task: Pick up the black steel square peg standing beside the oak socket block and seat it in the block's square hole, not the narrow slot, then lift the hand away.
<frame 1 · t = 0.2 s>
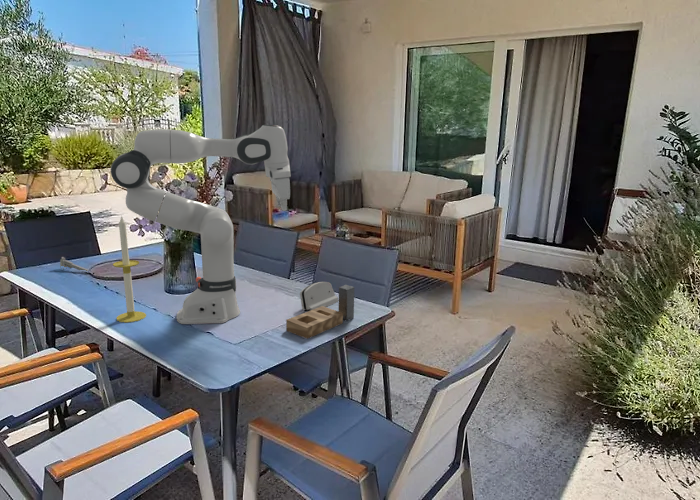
hand: (282, 208, 178), 39 cm above the table, tool pointing down, fingers open, 8 cm apart
candle: (131, 317, 176), on the table
caliper: (77, 272, 228), on the table
socket block: (315, 326, 170), on the table
hinge: (318, 305, 192), on the table
steel peg: (346, 318, 179), on the table
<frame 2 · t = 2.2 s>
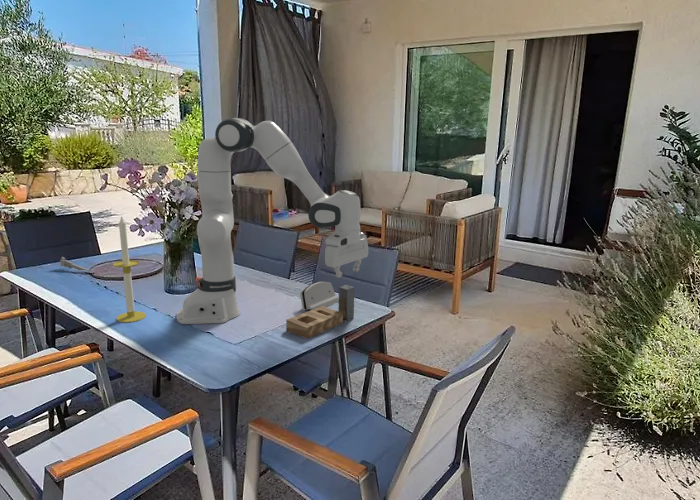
hand: (347, 274, 175), 17 cm above the table, tool pointing down, fingers open, 8 cm apart
nothing on the table moved.
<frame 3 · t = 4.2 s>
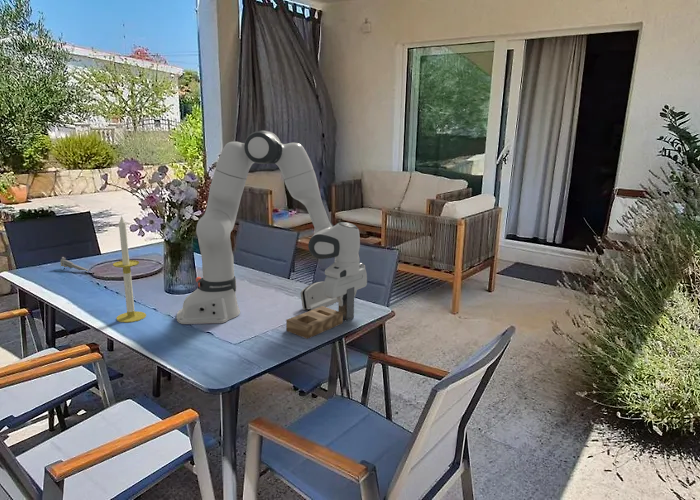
hand: (346, 303, 178), 6 cm above the table, tool pointing down, fingers closed on steel peg, 4 cm apart
steel peg: (346, 318, 179), on the table, touching gripper
everything else where it was.
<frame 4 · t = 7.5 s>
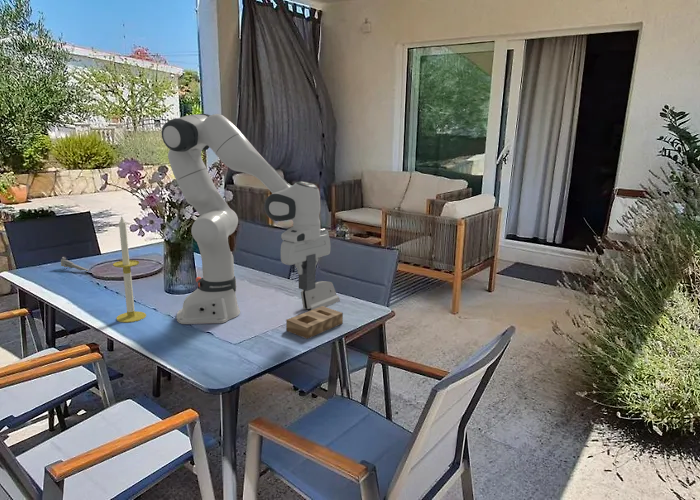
hand: (306, 272, 162), 21 cm above the table, tool pointing down, fingers closed on steel peg, 4 cm apart
steel peg: (307, 288, 164), point 15 cm above the table, touching gripper
everything else where it was.
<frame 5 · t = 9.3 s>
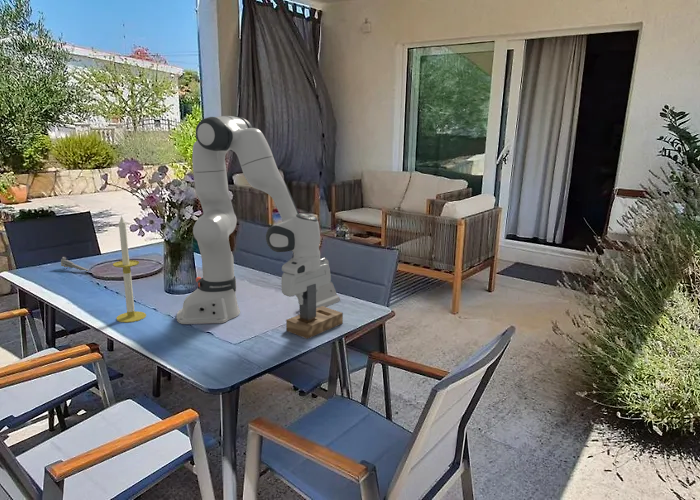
hand: (307, 301, 165), 10 cm above the table, tool pointing down, fingers closed on steel peg, 4 cm apart
steel peg: (307, 317, 166), point 5 cm above the table, touching gripper
when the fingers open (7 cm above the table, at t = 10.9 s): steel peg stays where it is, resting in socket block.
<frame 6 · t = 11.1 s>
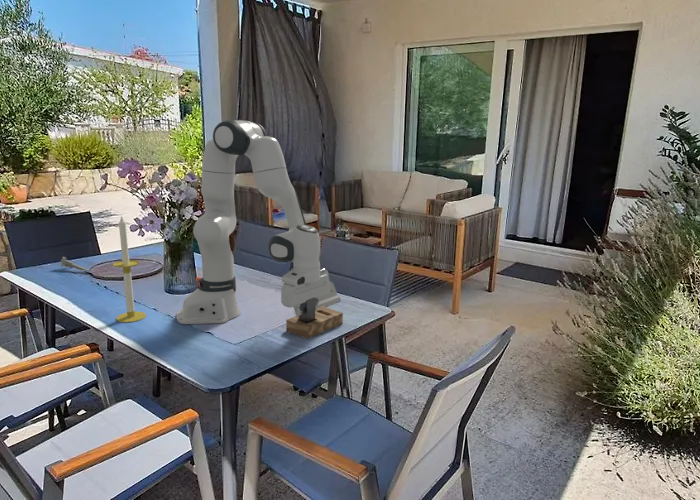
hand: (306, 312, 166), 7 cm above the table, tool pointing down, fingers open, 6 cm apart
steel peg: (307, 330, 168), resting in socket block
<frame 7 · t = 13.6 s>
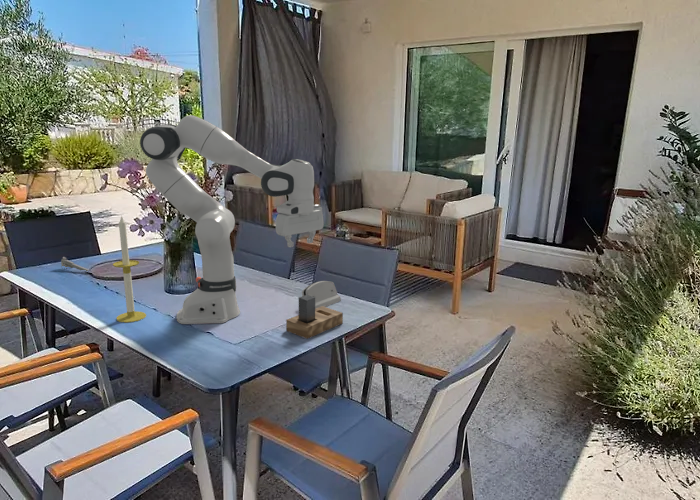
hand: (300, 244, 174), 27 cm above the table, tool pointing down, fingers open, 8 cm apart
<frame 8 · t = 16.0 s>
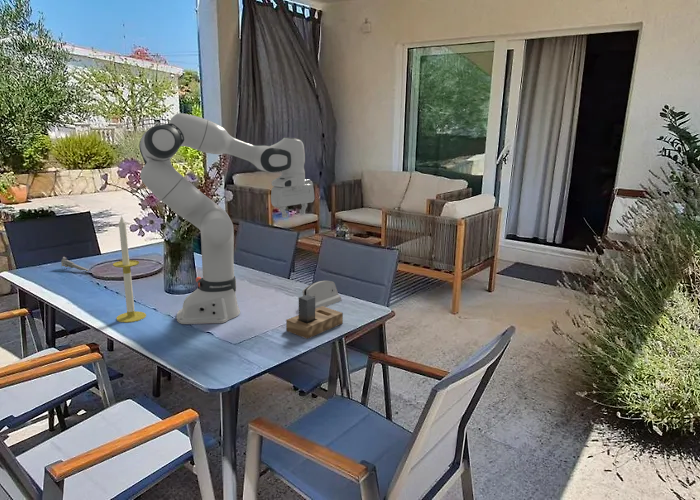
hand: (293, 216, 190), 34 cm above the table, tool pointing down, fingers open, 8 cm apart
at the end: steel peg 0.0 cm from the target spot on the socket block, point 0.0 cm above the socket block's base; steel peg tilted 0°; the gripper is holding nothing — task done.
